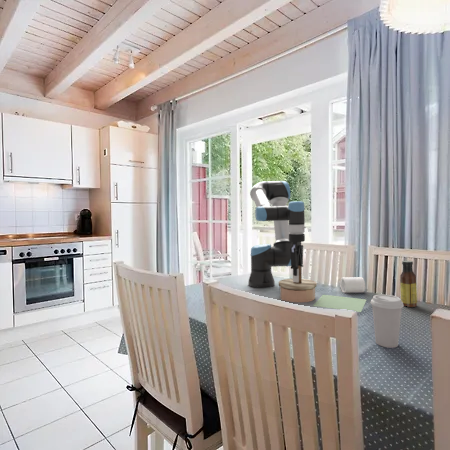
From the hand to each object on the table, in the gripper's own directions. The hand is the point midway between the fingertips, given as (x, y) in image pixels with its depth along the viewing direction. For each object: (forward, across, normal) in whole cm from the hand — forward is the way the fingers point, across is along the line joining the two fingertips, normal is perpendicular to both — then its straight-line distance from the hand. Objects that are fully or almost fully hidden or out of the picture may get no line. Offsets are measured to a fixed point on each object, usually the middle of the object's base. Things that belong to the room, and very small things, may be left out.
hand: (297, 280), depth 155 cm
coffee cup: (+9, -37, -41) cm, 56 cm away
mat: (+9, 0, -20) cm, 22 cm away
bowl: (+9, 0, 0) cm, 9 cm away
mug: (+9, +24, -21) cm, 33 cm away
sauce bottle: (+9, +10, -47) cm, 49 cm away
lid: (+2, 0, 0) cm, 2 cm away
